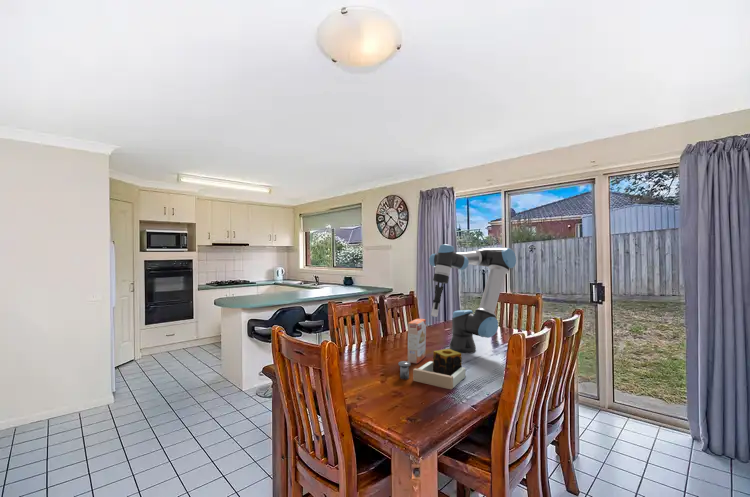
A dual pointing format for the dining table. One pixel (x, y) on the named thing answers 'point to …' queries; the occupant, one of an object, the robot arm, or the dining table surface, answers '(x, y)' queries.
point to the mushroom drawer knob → (404, 369)
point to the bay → (437, 376)
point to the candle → (446, 361)
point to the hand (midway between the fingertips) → (433, 316)
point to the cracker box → (416, 340)
